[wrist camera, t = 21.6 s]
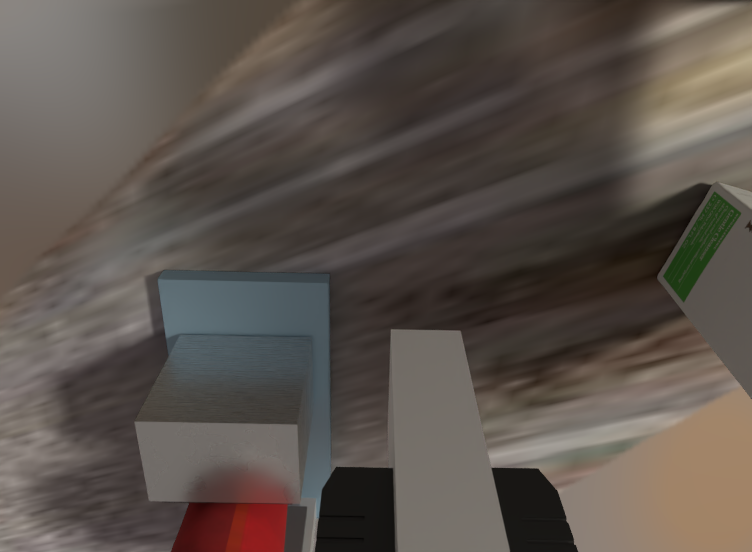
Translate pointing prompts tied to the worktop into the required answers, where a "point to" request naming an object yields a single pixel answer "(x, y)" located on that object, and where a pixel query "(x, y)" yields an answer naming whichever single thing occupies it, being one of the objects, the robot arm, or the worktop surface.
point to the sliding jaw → (229, 421)
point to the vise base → (265, 318)
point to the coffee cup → (232, 528)
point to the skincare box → (717, 276)
